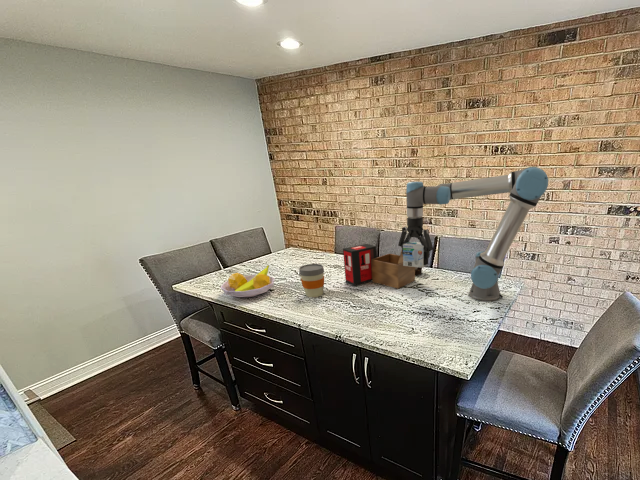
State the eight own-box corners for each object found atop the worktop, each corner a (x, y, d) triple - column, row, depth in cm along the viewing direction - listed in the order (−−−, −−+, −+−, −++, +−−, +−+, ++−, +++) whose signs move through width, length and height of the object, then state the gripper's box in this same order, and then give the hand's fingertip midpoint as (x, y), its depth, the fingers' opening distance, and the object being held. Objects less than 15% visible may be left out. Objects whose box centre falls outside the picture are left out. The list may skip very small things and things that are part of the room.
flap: (414, 257, 191) (415, 257, 191) (397, 263, 179) (398, 264, 179) (419, 242, 185) (420, 242, 185) (402, 248, 174) (402, 248, 174)
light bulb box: (402, 266, 163) (402, 244, 159) (407, 262, 169) (407, 241, 165) (423, 268, 160) (423, 245, 155) (428, 264, 165) (428, 242, 161)
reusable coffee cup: (318, 288, 187) (315, 262, 182) (331, 293, 179) (328, 267, 173) (298, 294, 179) (294, 267, 174) (310, 300, 171) (306, 272, 165)
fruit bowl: (237, 306, 165) (232, 285, 161) (215, 293, 182) (210, 273, 178) (288, 290, 184) (285, 271, 180) (264, 280, 201) (261, 262, 197)
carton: (414, 280, 196) (415, 258, 191) (398, 288, 185) (397, 265, 179) (389, 274, 207) (389, 253, 202) (372, 282, 195) (371, 259, 190)
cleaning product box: (368, 275, 206) (366, 243, 198) (377, 279, 199) (376, 246, 192) (345, 282, 196) (342, 248, 188) (354, 286, 190) (351, 251, 182)
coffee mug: (425, 272, 209) (425, 257, 206) (418, 276, 203) (418, 260, 199) (409, 269, 215) (409, 254, 211) (402, 273, 209) (402, 258, 205)
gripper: (441, 217, 151) (440, 264, 160) (399, 214, 165) (400, 257, 173) (432, 220, 146) (431, 268, 154) (389, 216, 160) (391, 260, 168)
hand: (415, 262), depth 164 cm, fingers closed on light bulb box, 11 cm apart
